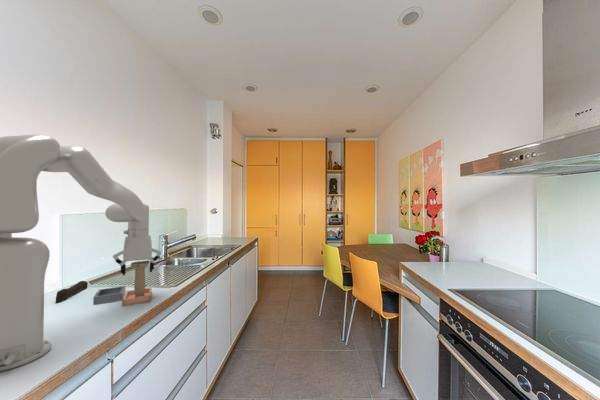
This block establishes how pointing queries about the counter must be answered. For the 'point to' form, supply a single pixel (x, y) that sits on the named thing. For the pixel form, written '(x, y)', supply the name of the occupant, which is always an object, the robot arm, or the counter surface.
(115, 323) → the counter surface
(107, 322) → the counter surface
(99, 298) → the collar
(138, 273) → the handle
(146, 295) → the tray
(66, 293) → the hand tool
